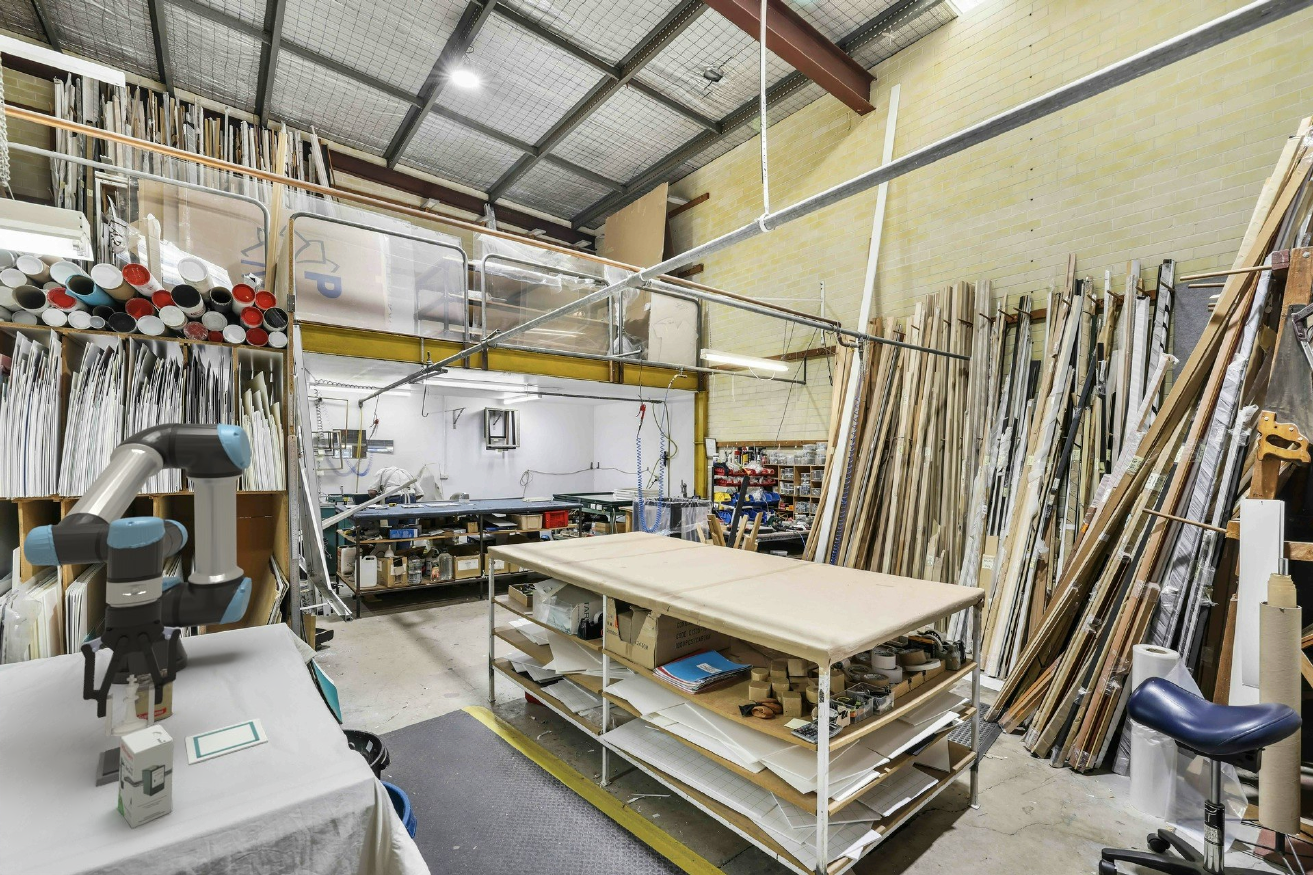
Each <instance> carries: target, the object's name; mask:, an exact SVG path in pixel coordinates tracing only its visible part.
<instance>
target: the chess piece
mask: <svg viewBox="0 0 1313 875" xmlns="http://www.w3.org/2000/svg"><path fill="white" fill-rule="evenodd" d="M127 681H129V683H127V684H126V685H125V686H124V687H123V690H124V692H125V694H126V697H124V698H123V700H122V701H123V702H124V703H126V708H125V713H124V714H125V715H124V719H123V720H122V721H121V723H118V724H117V725H115V726H114V727H112V732H111V735H110V736H113V737H122V736H125V735H128V734H131V733H134V732H137V731H140V730H143V729H146V728H148V727H149V726H148V721H147V720H146V719H139V718H138V717H137V716H136V710H135V700H137V699H138V698H139V696H138V695H135V693H136V691H137V688H138V686H139V684H138V683H136V682H134V681H137V678H134V674H132V675H130V677H129V678H127Z"/></svg>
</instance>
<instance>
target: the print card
mask: <svg viewBox="0 0 1313 875" xmlns="http://www.w3.org/2000/svg"><path fill="white" fill-rule="evenodd" d="M184 741H185V742H184V743H185V749H186V755H187V762H188V766H192V765H195V764H198V763H202V762H206V761H209V760H212V759H215V758H218V757H219V758H220V757H221V756H225V755H228V754H232V753H236V752H238V751H242V750H245V749H249V748H252V747H255V746H259V745H262V744H265V743H268V742H269V739H268V737H267V735H266V732H265V730H264V728H263V725H262V723H261V720H260V718H259V717H257V718H252V719H250V720H245V721H242V722H238V723H234V724H231V725H227V726H223V727H220V728H216V729H212V730H209V731H206V732H201V733H198V734H194V735H190V736H186V737H184Z"/></svg>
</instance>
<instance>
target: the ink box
mask: <svg viewBox="0 0 1313 875" xmlns="http://www.w3.org/2000/svg"><path fill="white" fill-rule="evenodd" d="M119 747H120V769H119V780H118V794H117V795H118V798H117V799H118V800H117V809H118V810H119V811H120V813H121V815H122V816H123V817H124V819H125V820H126V822H127V823H128V824H129V826H130V827H131V829H134V828H137V827H138V826H141V825H144V824H147V823H149V822H151V821H154V820H155V819H157V818H161V817H162V816H165V815H167V814H169V813H171V812H172V809H173V807H172V804H173V773H174V772H173V771H174V769H173V768H174V766H173V765H174V764H173V763H174V739H173V737H171V735H170V734H169V733H168V732H167V731H166V729H165V728H164V727H163V726H162V725H161V724H154V725H151V726H148V727H146V728H145V729H143V730H140V731H137V732H134V733H131V734H128V735H124V736H120V746H119Z"/></svg>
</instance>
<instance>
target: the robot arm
mask: <svg viewBox="0 0 1313 875" xmlns="http://www.w3.org/2000/svg"><path fill="white" fill-rule="evenodd" d="M251 458H252V450H251V443H250V440H249V436H248V434H247V431H246V430H245V429H244V428H243V427H241V426H239V425H236V424H225V423H178V422H168V423H161V424H157V425H152V426H150V427H146V428H145V429H142V430H140V431H138V432H136V433H134V434H132V435H130V436H129V437H127V438H125V439H124V440H122V441H121V443H119V444H118V445H117V446H116V447H115V448H114V449H113V451H112V452H111V453H110V456H109V461H110V462H109V463H108V465H107V466H106V467H105V468H104V470H102V472H101V473H100V474H99V476H97V477H96V479H95V480H94V481H93V483H92V484H91V485H90V486H89V488H88V489H87V490H86V491H85V492H84V493H83V495H82V496H81V497H80V498H79V499H78V500H77V501H76V503H75V504H74V505H73V506H72V508H70V510H69V511H68V513H66V515H65V516H64V517H63V518H62V519H61V520H60V521H59V522H58V524H56V525H55V524H54V525H53V524H49V525H42V526H41V525H40V526H37V527H34V528H33V529H31V530H30V531H29V532H28V533H27V535H26V537H25V540H24V542H23V543H24V544H23V555H24V557H25V560H26V561H27V563H29V564H30V565H33V566H57V567H59V566H60V567H61V566H70V565H71V566H72V565H82V564H83V565H85V564H96V563H98V564H99V563H107V565H106V566H107V568H106V572H107V575H106V587H105V588H106V592H105V593H106V594H105V596H106V597H105V603H106V604H108V605H107V607H105V619H104V630H103V632H102V634H101V635H100V636H99V637H96V638H95V639H92V640H84V641H83V642H82V643H81V645H80V646H81V647H80V651H81V653H82V655H83V657H84V670H83V671H84V673H83V688H82V689H83V691H82V698H83V700H85V701H89V700H95V701H97V702H96V705H97V707H96V710H97V711H96V716H97V718H98V719H101V718H105V731H104V732H105V734H104V736H105V738H106V737H110V736H112V735H111V733H112V729H113V704H114V694H113V693H110V694H109V692H110V690H111V686H112V684H129V681H127V678H129V677H130V675H132V674H134V678H137V676H140V675H147V674H151V677H152V680H153V683H154V685H152V686H149V708H148V726H147V727H151V726H155V721H154V705H157V704H161V703H162V701H163V687H164V685H165V684H167V683H169V682H173V683H174V681H175V680H177V672H178V671H180V670H182V669H184V668H185V667H186V666H187V664H188V654H187V651H186V649H185V647H184V644H183V642H182V640H181V638H180V636H181V633H182V629H183V628H193V627H203V626H214V625H223V624H231V623H236V622H238V621H240V620H241V619H243V616H245V614H246V611H247V608H248V605H249V602H250V598H251V592H252V587H253V586H252V585H253V584H252V578H251V577H248V576H246V577H245V576H244V575H245V573H244V572H245V571H244V569H242V567H241V568H240V567H239V566H238V563H237V558H238V557H237V480H239V479H240V477H242V476H243V475H244V470H246V469H249V468H250V466H251V462H252V459H251ZM168 469H176V470H179V469H182V470H185V475H186V476H185V477H186V478H187V479H188V480H190V481H192V483H193V487H194V489H193V490H194V492H193V495H194V496H193V498H194V503H193V504H194V547H195V550H194V551H195V552H194V555H195V557H194V558H195V561H194V562H195V563H194V564H195V565H194V566H195V571H193V573H191V574H190V575H189V576H188V577H187V578H188V579H187V582H186V581H185V582H184V581H183V580H182V578H181V577H180V576H178V575H177V576H166V577H165V576H164V577H163V570H164V568H163V567H164V559H166V558H168V557H172V556H173V555H175V554H176V553H178V552H179V551H180V550H182V548H184V546H185V544H186V543H187V541H188V538H189V536H188V531H187V528H186V527H185V526H184V525H183V524H182V523H181V522H178V521H176V520H173V519H163V518H161V517H158V516H135V517H125V518H122V517H123V515H124V514H125V512H126V511H127V509H128V508H129V506H130V505H131V504H132V502H133V501H134V500H135V498H136V497H137V495H138V494H139V492H140V491H141V490H142V488H143V487H144V486H145V484H146V483H147V481H148V480H149V478H152V477H154V476H156V475H157V474H159V473H160V472H161V471H162V470H168ZM181 628H182V629H181ZM102 644H103V645H104V646H106V647H107V648H108V649H109V650H111V651H112V655H111V658H110V660H109V663H108V666H107V669H106V671H105V674H104V677H103V679H102V682H101V685H100V687H99V689H95V673H96V653H98V652H99V650H100V645H102ZM163 669H167V675H165V676H163V677H162V675H161V672H160V671H162V670H163ZM144 681H148V680H143V681H142V682H144ZM136 682H137V681H134V683H136Z"/></svg>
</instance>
